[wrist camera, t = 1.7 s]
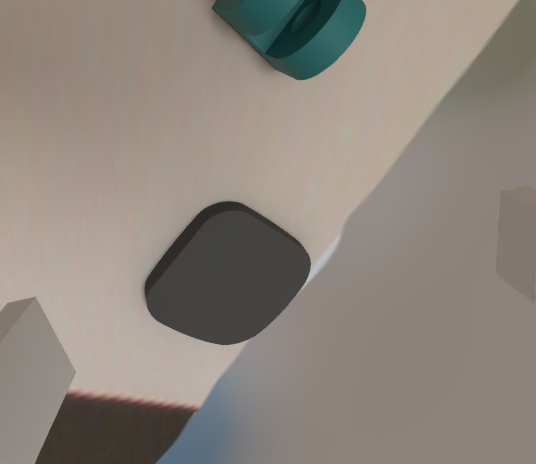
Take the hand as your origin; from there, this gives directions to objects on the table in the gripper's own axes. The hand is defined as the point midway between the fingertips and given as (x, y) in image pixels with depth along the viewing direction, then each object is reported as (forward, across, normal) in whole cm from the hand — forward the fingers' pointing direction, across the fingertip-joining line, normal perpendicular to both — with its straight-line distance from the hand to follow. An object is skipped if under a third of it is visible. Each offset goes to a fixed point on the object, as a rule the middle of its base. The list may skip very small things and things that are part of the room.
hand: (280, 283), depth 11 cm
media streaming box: (+28, -4, -14) cm, 32 cm away
